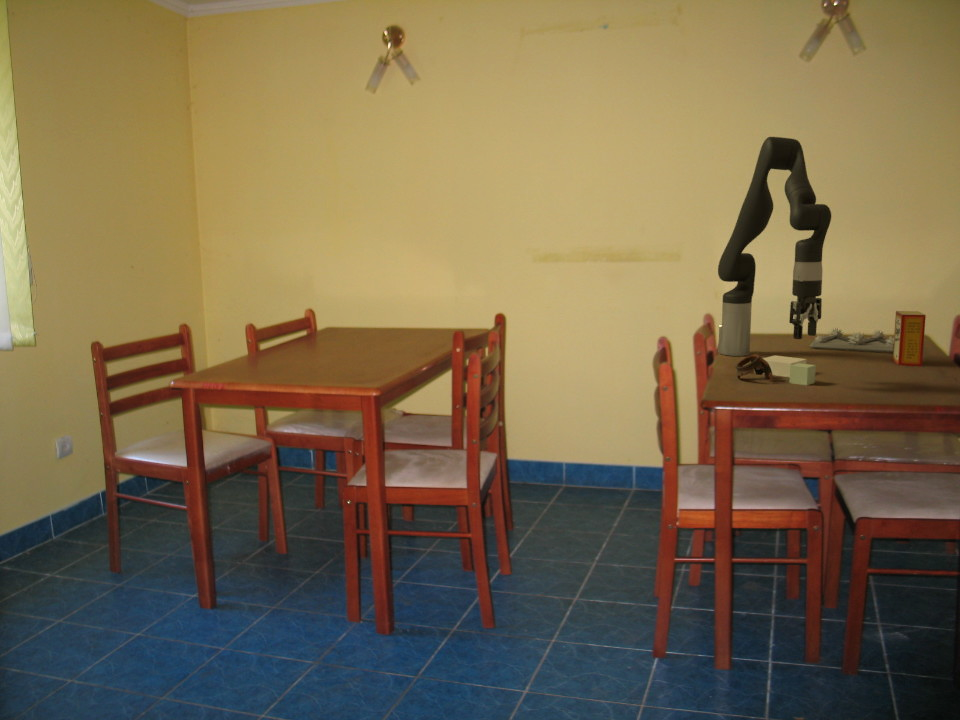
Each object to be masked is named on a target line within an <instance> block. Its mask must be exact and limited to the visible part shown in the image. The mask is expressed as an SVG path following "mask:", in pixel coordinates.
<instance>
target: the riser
mask: <svg viewBox="0 0 960 720" xmlns="http://www.w3.org/2000/svg"><path fill="white" fill-rule="evenodd" d="M762 358H763V359H764V360H766V361H767V362H768V364H769V365H770V368H771V371H772V374H773V376H777V377H783V378H790V365H794V364H797V363H801V364H807V358H800V357H790V356H782V355H771V356H768V357H762ZM762 375H765V374H764V373H763V374H762Z"/></svg>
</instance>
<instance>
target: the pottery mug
mask: <svg viewBox="0 0 960 720" xmlns="http://www.w3.org/2000/svg"><path fill="white" fill-rule="evenodd" d="M763 358H764V357H762V356H760V355H759V354H752V355H750V354H749V356H748V355H747V356H746V357H744V358H743V359H741V360H740V361H738V362H737V364H736V366H735V369H736V377H737V379H738V380H740V379H741V377H743V376H747V375H749V374H751V375H759V376H762V375H764V378H765V379H767V380H768V379H769V380H770V381H769V382H771V383H772V382H774V375H773V374H772V371H771V368H770V365H769V364H768V362H767V361H766V360H764V359H763ZM763 373H764V374H763Z"/></svg>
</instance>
